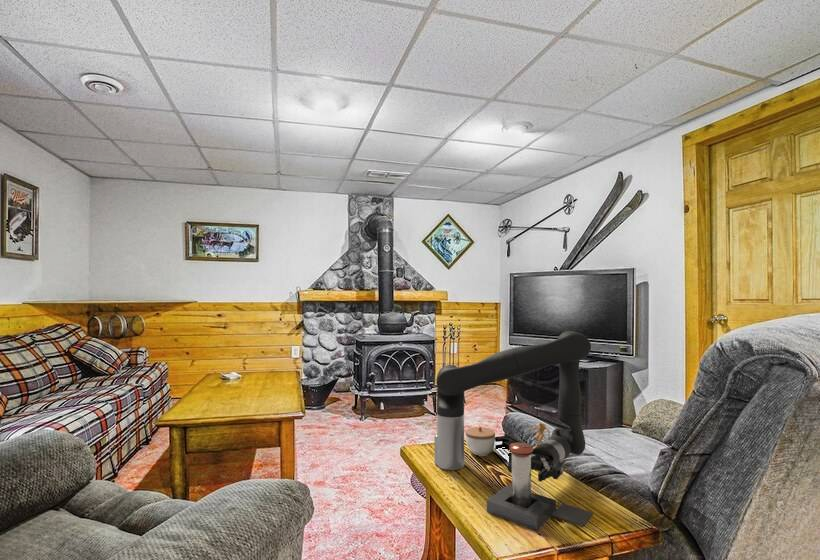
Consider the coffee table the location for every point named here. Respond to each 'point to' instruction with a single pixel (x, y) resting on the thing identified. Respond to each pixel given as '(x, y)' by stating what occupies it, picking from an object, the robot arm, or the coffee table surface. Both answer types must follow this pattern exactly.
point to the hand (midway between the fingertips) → (524, 473)
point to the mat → (572, 514)
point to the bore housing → (521, 508)
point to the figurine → (540, 433)
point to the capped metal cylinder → (521, 474)
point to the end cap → (506, 442)
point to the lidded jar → (480, 440)
